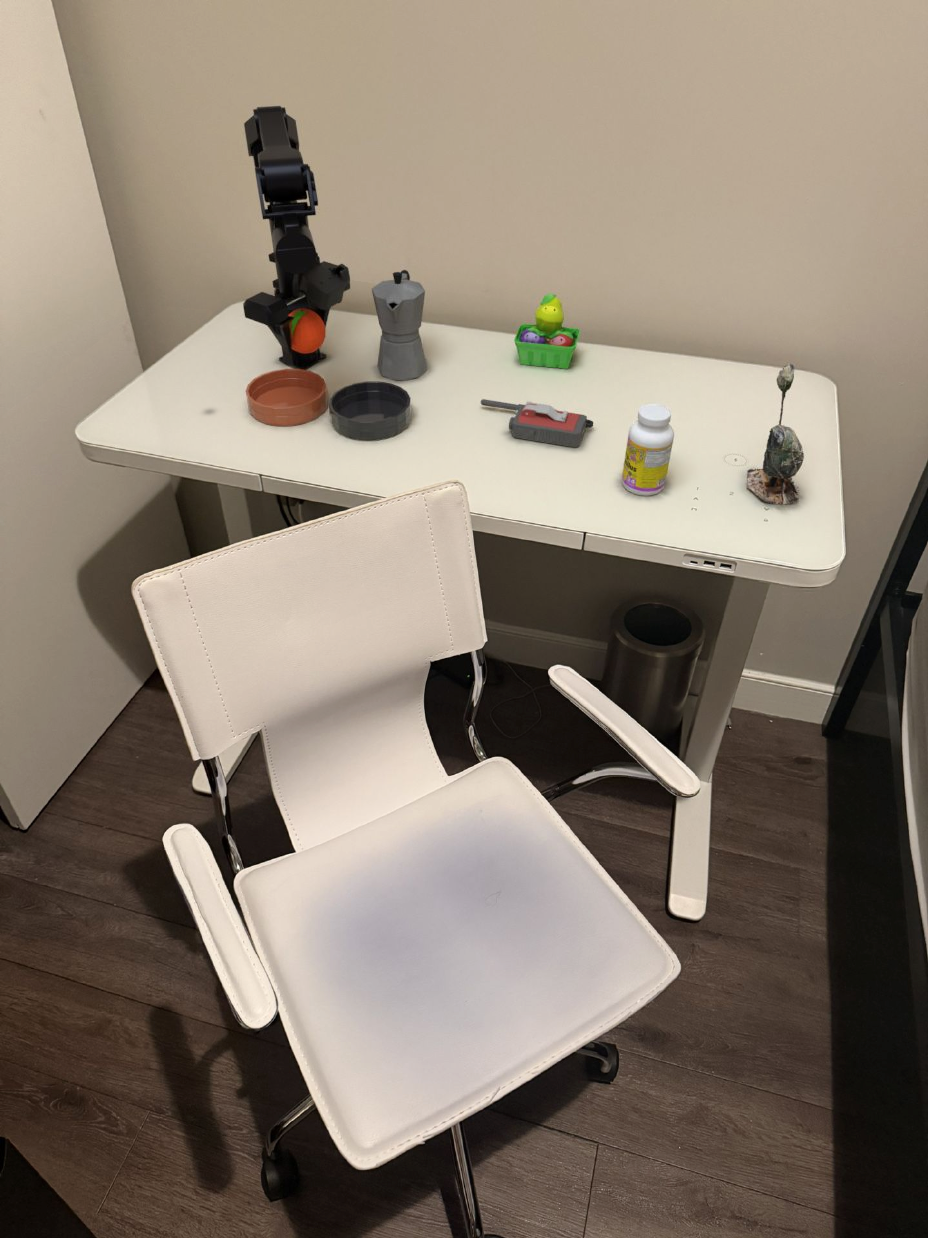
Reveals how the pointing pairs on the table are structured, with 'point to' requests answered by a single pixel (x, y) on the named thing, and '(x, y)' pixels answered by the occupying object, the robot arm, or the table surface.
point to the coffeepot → (400, 327)
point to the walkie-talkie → (544, 423)
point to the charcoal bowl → (370, 410)
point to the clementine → (306, 331)
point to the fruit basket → (547, 337)
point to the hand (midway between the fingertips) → (304, 343)
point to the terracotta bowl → (287, 397)
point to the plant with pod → (779, 457)
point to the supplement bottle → (648, 450)
